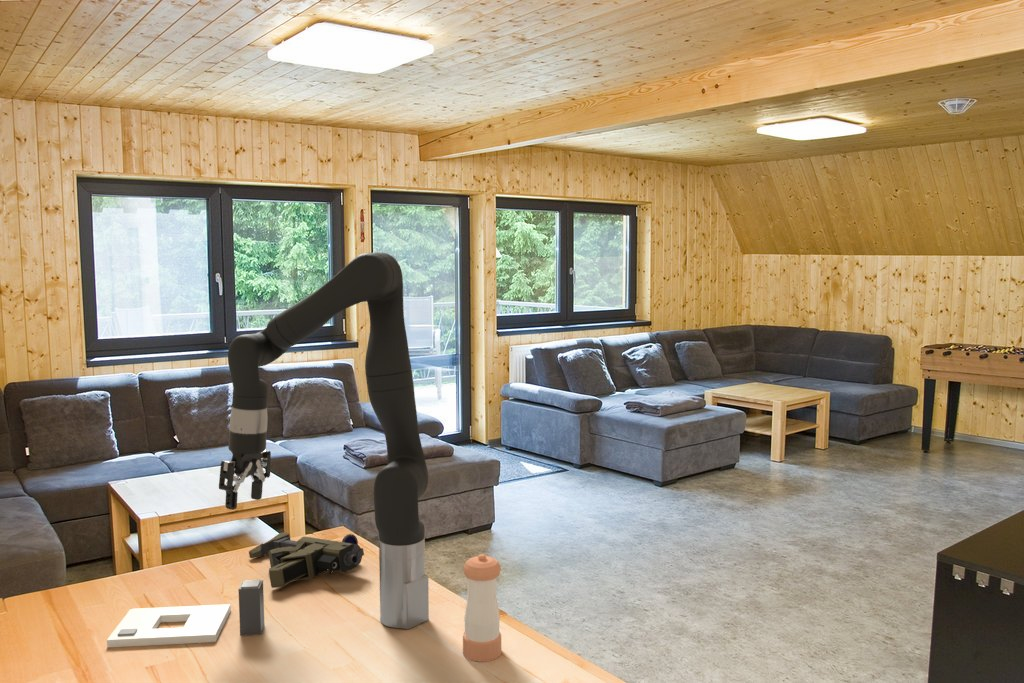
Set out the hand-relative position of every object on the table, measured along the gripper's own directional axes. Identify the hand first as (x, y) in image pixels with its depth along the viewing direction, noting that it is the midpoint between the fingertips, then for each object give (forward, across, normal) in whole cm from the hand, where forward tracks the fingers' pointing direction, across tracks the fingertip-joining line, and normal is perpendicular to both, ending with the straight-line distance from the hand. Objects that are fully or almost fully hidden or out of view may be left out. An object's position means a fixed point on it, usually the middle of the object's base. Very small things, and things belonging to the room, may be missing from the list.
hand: (244, 503), depth 178 cm
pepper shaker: (+18, -3, -57) cm, 60 cm away
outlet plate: (+23, -14, +6) cm, 27 cm away
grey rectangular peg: (+22, -9, -10) cm, 26 cm away
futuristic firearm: (+22, +21, -2) cm, 30 cm away
